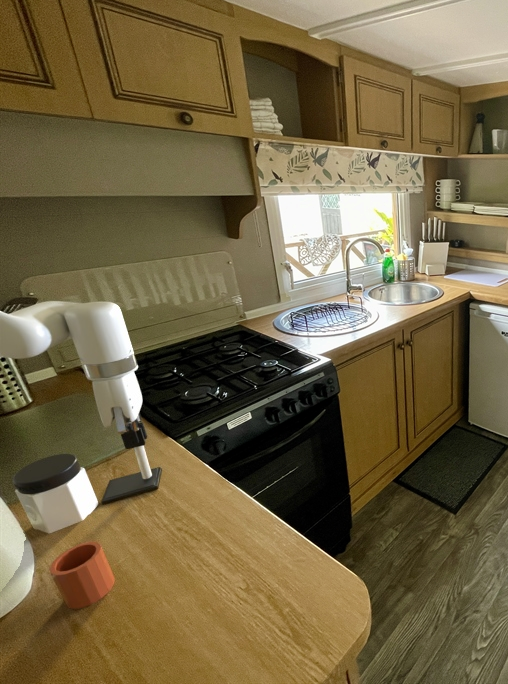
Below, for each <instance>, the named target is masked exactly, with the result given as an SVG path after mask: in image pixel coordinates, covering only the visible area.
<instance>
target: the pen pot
mask: <svg viewBox="0 0 508 684" xmlns="http://www.w3.org/2000/svg"><path fill="white" fill-rule="evenodd" d="M48 570H49V573H50V575H51V577H52V579H53V582H54V584H55V585H56V587H57V590H58V592H59V593H60V596H61V597H62V599H63V602H64V603H65V606H66V607H67V608H69V609H72V610H80V609H83V608H86V607H89V606H91V605H93V604H95V603H97V602H98V601H99V600H101V599H102V598H103V597H105V596H106V595H107V594H108V593H109V592H110V591H111V590H112V589H113V587H114V585H115V581H116V577H115V576H114V575H115V574H114V573H113V570H112V568H111V566H110V563H109V561H108V559H107V556H106V553H105V552H104V549H103V547H102V545H101V543H100V542H97V541H86V542H83V543H79V544H76V545H74V546H73V547H70V548H68V549H66V550H65V551H63V552H62V553H61V554H59V555H58V556H57V557H56V558H55V559H54V560H53V561H52V562H51V564H50V566H49V568H48Z"/></svg>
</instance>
